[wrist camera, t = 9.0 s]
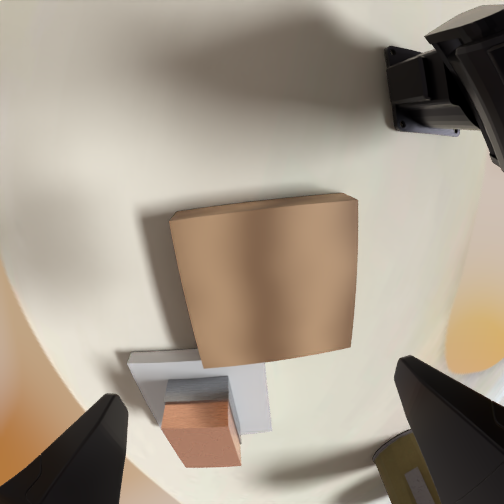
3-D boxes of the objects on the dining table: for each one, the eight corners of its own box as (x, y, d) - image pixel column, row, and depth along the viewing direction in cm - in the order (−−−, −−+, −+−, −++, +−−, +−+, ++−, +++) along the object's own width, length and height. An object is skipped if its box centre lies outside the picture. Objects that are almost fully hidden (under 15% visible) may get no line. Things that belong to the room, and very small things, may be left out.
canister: (433, 435, 34) (477, 518, 15) (382, 467, 35) (415, 552, 16) (424, 415, 30) (480, 518, 11) (362, 453, 32) (401, 561, 13)
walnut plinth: (342, 192, 18) (357, 199, 16) (340, 328, 22) (350, 347, 20) (176, 211, 18) (168, 221, 16) (205, 347, 22) (203, 368, 20)
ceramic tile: (261, 341, 22) (263, 353, 21) (270, 420, 26) (272, 431, 25) (131, 352, 22) (127, 363, 20) (167, 426, 26) (166, 437, 24)
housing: (240, 423, 24) (243, 466, 19) (188, 426, 24) (185, 468, 19) (228, 375, 21) (229, 424, 17) (168, 379, 21) (158, 426, 17)
